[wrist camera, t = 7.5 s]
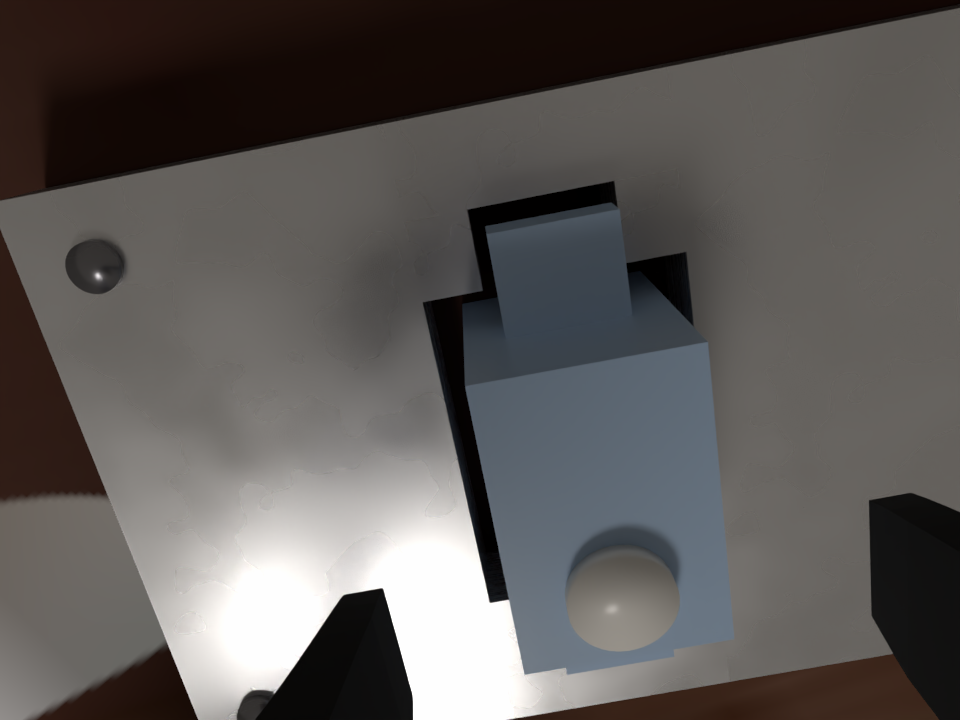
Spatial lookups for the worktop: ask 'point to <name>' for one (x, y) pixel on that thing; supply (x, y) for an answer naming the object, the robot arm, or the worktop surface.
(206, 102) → the worktop surface
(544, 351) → the servo
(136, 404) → the plate
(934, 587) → the robot arm
